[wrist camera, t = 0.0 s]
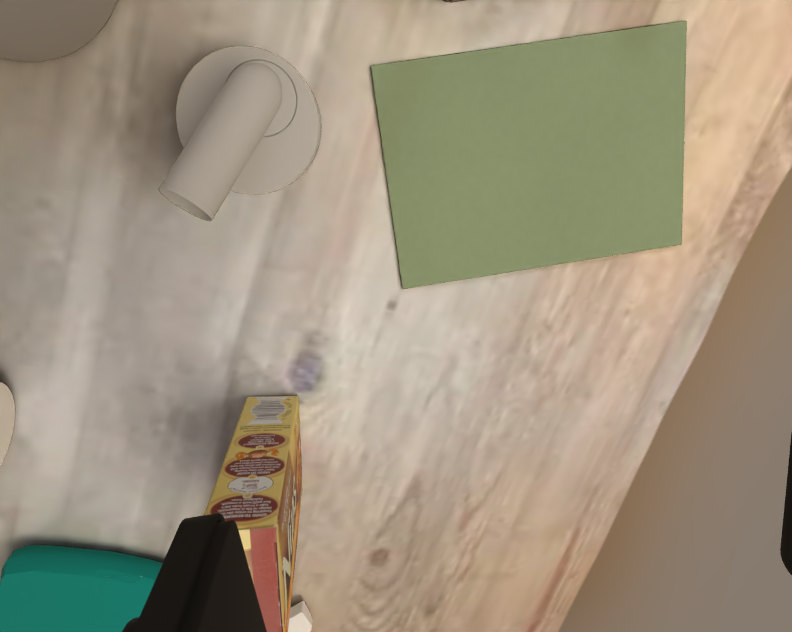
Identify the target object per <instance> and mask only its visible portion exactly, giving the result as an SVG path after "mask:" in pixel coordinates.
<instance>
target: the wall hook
mask: <svg viewBox="0 0 792 632" xmlns="http://www.w3.org/2000/svg"><path fill="white" fill-rule="evenodd" d="M176 124H177V130H178V134H179V138H180V141H181V143H182V146H183V148H184V149H183V150H182V152H181V154H180V155H179V157H178V158H177V160H176V161H175V163H174V165H173V166H172V168H171V169H170V171H169V172H168V174H167V175H166V177H165V179H164V180H163V182H162V183H161V185H160V186H159V188H158V190H159V191H160V193H161V194H162V195H164V196H165V197H166V198H167V199H168V200H170V201H171V202H173V203H174V204H175V205H177V206H178V207H180V208H182V209H183V210H185V211H187V212H189V213H190V214H192V215H194V216H196V217H198V218H201V219H203V220H206V221H212V219H213V218H214V216H215V214H216V213H217V211H218V209H219V208H220V206H221V204H222V203H223V201H224V199H225V198H226V196H227V195H228V193H229V191H233V192H236V193H241V194H248V195H260V194H266V193H271V192H274V191H277V190H280V189H282V188H284V187H286V186H287V185H289V184H291V183H292V182H293V181H295V180H296V179H297V178H299V177H300V176H301V175H302V174H303V173H304V172H305V171H306V170H307V168H308V167H309V166H310V164H311V163H312V161H313V159H314V157H315V155H316V153H317V150H318V147H319V143H320V138H321V117H320V112H319V108H318V104H317V101H316V99H315V97H314V94H313V92H312V91H311V89H310V87H309V86H308V84H307V83H306V81H305V80H304V78H303V77H302V76H301V74H300V73H299V72H298V71H297V70H296V69H295V68H294V67H293V66H292V65H291V64H290V63H288V62H287V61H286V60H284V59H283V58H281V57H280V56H278V55H276V54H274V53H272V52H270V51H267V50H264V49H261V48H257V47H251V46H231V47H226V48H223V49H220V50H217V51H215V52H212V53H210V54H209V55H207V56H205V57H204V58H203V59H201V60H200V61H199V62H198V63H197V64H196V65H195V66H194V67H193V68H192V69H191V70H190V72H189V73H188V74H187V76H186V78H185V79H184V81H183V83H182V86H181V88H180V91H179V94H178V98H177V104H176Z"/></svg>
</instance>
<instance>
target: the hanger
mask: <svg viewBox="0 0 792 632" xmlns="http://www.w3.org/2000/svg"><path fill="white" fill-rule="evenodd" d="M443 1H446V2H448V0H443ZM457 1H464V0H449V2H457Z"/></svg>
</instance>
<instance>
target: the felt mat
mask: <svg viewBox="0 0 792 632" xmlns="http://www.w3.org/2000/svg"><path fill="white" fill-rule="evenodd" d="M686 31H687V21H681V22H674V23H667V24H660V25H653V26H646V27H639V28H632V29H625V30H618V31H611V32H604V33H597V34H590V35H583V36H576V37H569V38H562V39H555V40H548V41H541V42H534V43H527V44H520V45H513V46H506V47H499V48H492V49H485V50H478V51H471V52H464V53H457V54H450V55H443V56H436V57H429V58H422V59H415V60H408V61H401V62H394V63H387V64H380V65H373V66H371V71H372V78H373V85H374V92H375V99H376V106H377V113H378V120H379V127H380V134H381V141H382V149H383V156H384V163H385V170H386V177H387V184H388V191H389V198H390V205H391V212H392V219H393V226H394V233H395V240H396V247H397V254H398V261H399V268H400V275H401V282H402V288H403V289H407V288H413V287H419V286H425V285H432V284H438V283H444V282H451V281H457V280H463V279H469V278H476V277H482V276H488V275H494V274H501V273H507V272H513V271H519V270H526V269H532V268H538V267H544V266H551V265H557V264H563V263H569V262H576V261H582V260H588V259H594V258H601V257H607V256H613V255H619V254H626V253H632V252H638V251H644V250H651V249H657V248H663V247H670V246H676V245H682V212H683V167H684V122H685V77H686Z"/></svg>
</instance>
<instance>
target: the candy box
mask: <svg viewBox="0 0 792 632" xmlns="http://www.w3.org/2000/svg"><path fill="white" fill-rule="evenodd" d="M301 496H302V467H301V440H300V419H299V400H298V396H272V397H247V398H246V401H245V404H244V407H243V410H242V413H241V415H240V418H239V421H238V423H237V426H236V429H235V432H234V434H233V437H232V440H231V443H230V446H229V448H228V451H227V453H226V456H225V459H224V462H223V465H222V467H221V470H220V473H219V475H218V478H217V481H216V484H215V486H214V489H213V492H212V495H211V498H210V500H209V503H208V506H207V509H206V511H205V514H204V515H209V514H215V513H220V514H222V515H223V517H224V519H225V521H229V520H234V521H235V522H236V524H237V527H238V530H239V534H240V537H241V541H242V544H243V548H244V552H245V555H246V559H247V562H248V566H249V570H250V573H251V577H252V580H253V584H254V587H255V591H256V595H257V598H258V602H259V605H260V609H261V613H262V616H263V620H264V623H265V627H266V630H267V632H288V627H289V617H290V607H291V597H292V586H293V578H294V568H295V559H296V549H297V538H298V527H299V516H300V506H301Z"/></svg>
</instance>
